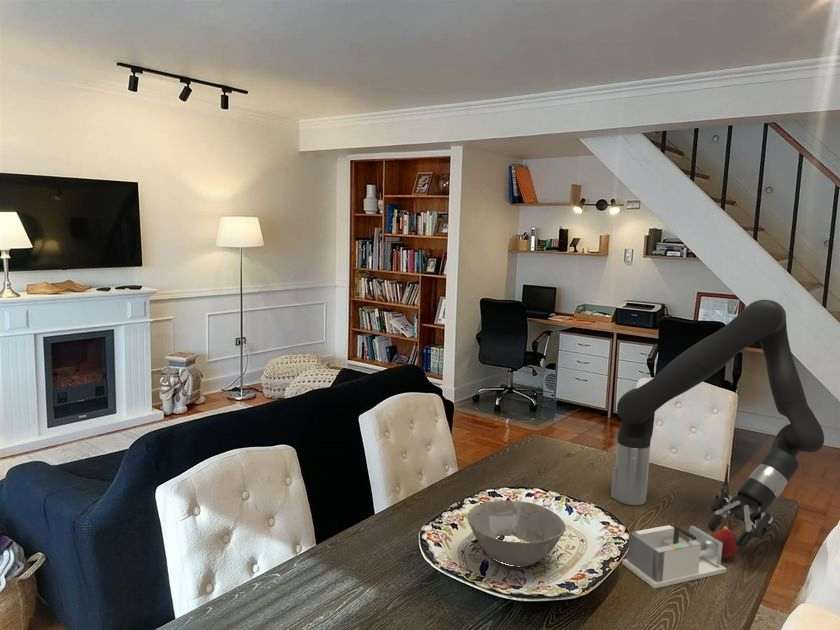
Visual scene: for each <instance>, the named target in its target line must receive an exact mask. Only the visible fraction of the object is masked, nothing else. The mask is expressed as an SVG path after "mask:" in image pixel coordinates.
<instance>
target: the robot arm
mask: <svg viewBox="0 0 840 630" xmlns="http://www.w3.org/2000/svg"><path fill="white" fill-rule="evenodd" d="M787 327H788V325H787V314H786V310H785V308H784V307H783V306H782V305H781V304H780V303H778V302H777V301H775V300H772V299H759V300H755V301H753V302H751V303H750V304H748V305H747V306H746V307H745V308H744V309H743V310H742V311H740V312H739V314H737V315H736V316H735V317H734V318H733V319H732V320H731V321H728V323H727V324H726V325H725V326H723V327H722V328H720V329H718V330H717V331H715V332H714V333H712V334H710V335H708V336H706V337H705V338H703V339H701V340H699V341H698V342H697V343H695V344H693V345H692V346H690V347H689V348H687V349H686V350H684V351H683V352H682V353H680V354H678V355H677V356H676V357H675V358H674V359H672V361H670V362H669V363H668V364H667V365H665V366H664V368H662V369H661V370H660V371H659V372H658V373H657V374H656V375H655V376H653V378H652V379H650V380H648V381H647V382H646V383H644V384H643V385H641V386H639V387H636V388H632V389H629V390H628V391H626V392H625V393H624V394H623V395H622V396H620V398H619V400H618V402H617V405H616V411H617V412H616V413H617V415H618V417H619V419H620V420H621V422H620V427H619V430H618V432H617V441H616V443H617V444H616V454H615V465H614V466H613V467H612V476H611V487H610V488H611V489H610V498H612V499H614V500H616V501H617V502H619V503H621V504H624V505H629V506H641V505H644V504H645V503H646V502H647V496H648V495H647V491H648V480H649V479H648V478H649V467H650V455H651V454H650V452H651V441H652V437H653V433H654V426H655V425H654V423H655V415H656V411H657V410H659V409H660V408H661V407H662V406H664V405H665V404H666V403H668V402H669V401H671V400H673V399H674V398H676V397H678V396H680V395H682V394H684V393H685V392H687V391H690V390H692V389H693V388H694V387H696V386H698V385H700V384H702V382H704V381H706V380H707V379H709V378H710V377H712V376H713V375H715V374H716V373H717V372H718V371H720V370H721V369H722V368H724V367H725V365H727V364H728V363H729V362H730V361H731V360H732V359H733V358H734V357H736V355H738V353H740V352H741V351H743V350H745V348H747V347H749V346H751V345H753V344H754V343H756V342H758V341H759V343H760V346H761V349H762V352H763V355H764V360H765V365H766V370H767V371H766V372H767V379H768V382H769V383H768V384H769V387H770V391H771V395H772V398H773V401H774V404H775V408H776V410H777V412H778V413H779V414H780V415H781V416H783V417H786V418H787V419H788V421H789V424H786V425H785V426H783V427H782V428H781V429H780V430H779V431H778V432H777V434H776V436H775V438H774V441H773V443H772V446H771V448H770V451H769V453H768V454H767V455H766V456H765V458H764V459H763V460H762V461H761V463H760V464H759V465H758V466H757V467H756V468H755V469H754V470H753V471H752V472H751V473H750V475H749V476H748V477H747V479H745V481H744V482H743V483H742V485H741V486H740V487H739V489H738V491H737V495H735V496H732V495H731V496H729V495H728V493H727V491H726V492H724V493H723V494H722V495H721V496H720V497H719V498H718V499H717V500H716V502H715V501H714V502H713V504H712V505H711V506H710V510H711V511H712V513H714V514H713V516H712V517H711V518H710V520H709V521H708V522H707V526H706V527H707V529H708V530H709V531H710V532H712V533H714V532H716V530H717V529H718V527H719V526H720V524H721V523H722V522H723V520H727V519H733V518H735V519H737V520H739V521H742V523H744V524H745V530H743V531H742V533H741V534H740V536H738V538H736V539H737V540H736V542H735V543H736V545H737V546H738V549H739V548H740V549H743V548H745V547H746V546H748V544H749V543H750V541H751V540H752V539H753V538H758V539H759V540H762V539H764V538H765V536H766V535H767V533H768V532H769V530H770V529H771V527H772V526H773V525H774V523H775V521H776V520H775V519H774V518H773V516H772V515H771V514H770V513H769V512H768V511H769V509H770V508H771V506H772V505H774V503H775V501H776V500H777V499H778V497H779V496H780V495H781V494H782V492H783V491H784V489H785V488H786V486H787V485H788V482H789V481H790V480H791V479H792V478H793V476H794V475H795V474H796V472H797V470H798V469H799V466H800V465H799V462H798V460H797V459H796V457H797V456H798V454H799V453H801V452H802V453H816V452H819V451H820V450H821V449H822V448H823V446H824V444H825V433H824V430H823V428H822V426H821V423H819V421H818V419H817V417H816V415H815V414H814V412H813V410H812V409H811V407H810V406H809V404H808V401H807V398H806V394H805V390H804V387H803V385H802V382H801V377H800V375H799V372H798V369H797V367H796V364H795V360H794V357H793V353H792V351H791V346H790V343H789V342H790V341H789V336H788V335H789V334H788V328H787ZM730 503H731V504H730ZM728 504H729V505H728ZM757 520H760V521H759V522H758V523H757Z"/></svg>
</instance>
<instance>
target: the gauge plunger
mask: <svg viewBox="0 0 840 630" xmlns="http://www.w3.org/2000/svg"><path fill="white" fill-rule="evenodd" d="M673 528H674V536H673V538H671V539H665V540H663V542H662V547H665V546H670V545H672V544H677V543H679V544H680V543H685V542H690V541H697V542H699V543H700V544H701V550H700V556H702V557H703V558H705V559H706V560H708V561H709V562H711V563H713V564H714V565H716V566H720V565H722V564H721V563H722V557H721V556H722V546H723V543H722V542H720V541H719V540H717V539H715V538H713V536H712V535H710V534H709V533H707V532H705V531H703V530H702V529H701V528H698V527H697V526H695V525H690V526H689V531H687V530H686V529H684V528H682V527H681V526H679V524H678V525H677V524H675V525H674V527H673ZM680 533H682V534H683V535H685V536H687V537H688V541H686V540H685V539H684V538H682V537H680Z"/></svg>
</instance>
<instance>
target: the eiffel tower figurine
mask: <svg viewBox="0 0 840 630" xmlns="http://www.w3.org/2000/svg"><path fill="white" fill-rule="evenodd" d="M725 465H726V469H725V476H724V479H723V480H724V481H723V483H722V487H721V489H720V490H719V491H718V493H717V494H716V495H715V496H714V497H713V501H714V503H715V502H716V500H717V499H718V498H719V497H720V496H721V495H722V494H723V493H724V492H727V493H728V495H729V496H731V497H735V496H736V495H735V494H732V493H731V492H730V491H729V467H730V465H729V463H727V464H725ZM725 490H726V491H725ZM730 504H731V503H730ZM728 505H729V504H728Z"/></svg>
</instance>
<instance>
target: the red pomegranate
mask: <svg viewBox="0 0 840 630" xmlns="http://www.w3.org/2000/svg"><path fill="white" fill-rule="evenodd" d="M712 537H713V538H715V539H717V540H719V541H720V542H722V543H723V546H722V556H721V559H726V558H729V557H732V556H734V555H735V554H736V553H737V552H738V549H739V547H738V546H737V545H736V543H735V542H736V540H737V539H738V538H737V537H736V535H735V534H734V533H733V531H731V530H730V529H729V528H728V527H727V526H725V525H724V526H722V529H719V530H717V531H715V533H714V534H713V536H712Z"/></svg>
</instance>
